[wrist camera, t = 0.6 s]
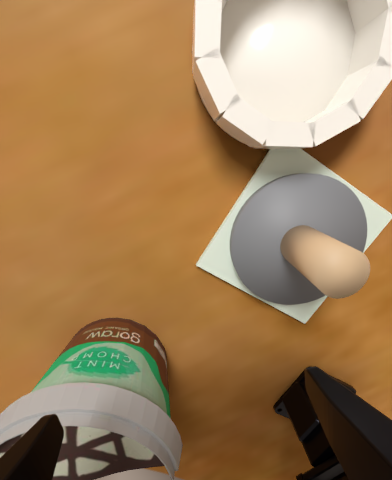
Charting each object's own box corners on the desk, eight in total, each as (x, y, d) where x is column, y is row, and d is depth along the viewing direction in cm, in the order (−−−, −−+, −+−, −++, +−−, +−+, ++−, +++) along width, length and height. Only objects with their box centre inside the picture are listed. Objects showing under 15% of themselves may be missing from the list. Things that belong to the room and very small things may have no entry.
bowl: (400, 24, 17) (455, -10, 13) (293, 179, 19) (317, 183, 16) (259, -112, 14) (284, -195, 11) (159, 87, 17) (154, 69, 14)
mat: (390, 215, 21) (393, 215, 20) (303, 321, 24) (304, 323, 23) (278, 134, 18) (281, 134, 18) (196, 263, 21) (196, 265, 21)
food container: (176, 300, 22) (173, 404, 13) (181, 355, 24) (182, 483, 14) (36, 312, 22) (-78, 431, 12) (52, 368, 23) (-35, 509, 14)
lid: (385, 218, 20) (474, 241, 14) (304, 317, 23) (349, 374, 17) (282, 144, 18) (334, 134, 12) (204, 263, 21) (214, 306, 15)
